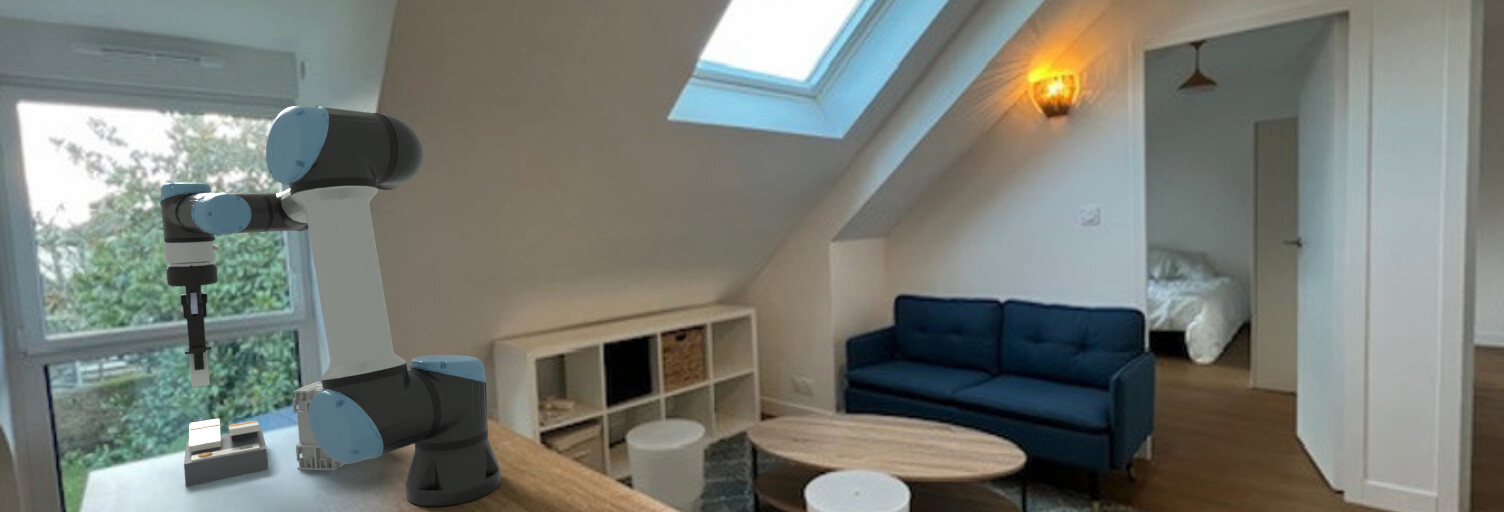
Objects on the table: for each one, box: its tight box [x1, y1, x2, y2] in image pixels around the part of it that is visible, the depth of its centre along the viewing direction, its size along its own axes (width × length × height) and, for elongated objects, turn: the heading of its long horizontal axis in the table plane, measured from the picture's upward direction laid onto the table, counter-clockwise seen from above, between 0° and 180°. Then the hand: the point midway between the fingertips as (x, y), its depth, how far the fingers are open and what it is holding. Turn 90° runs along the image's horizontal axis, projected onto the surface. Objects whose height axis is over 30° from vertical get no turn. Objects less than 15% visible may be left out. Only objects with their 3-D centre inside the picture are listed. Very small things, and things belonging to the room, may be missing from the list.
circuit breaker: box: [292, 379, 345, 471], centre depth 137 cm, size 8×14×15 cm, turn 174°
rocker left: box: [188, 417, 221, 452], centre depth 133 cm, size 10×5×1 cm, turn 38°
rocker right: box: [228, 420, 260, 436], centre depth 136 cm, size 10×5×1 cm, turn 38°
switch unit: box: [183, 427, 269, 487], centre depth 133 cm, size 16×12×5 cm
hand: (200, 385), depth 135 cm, fingers closed
